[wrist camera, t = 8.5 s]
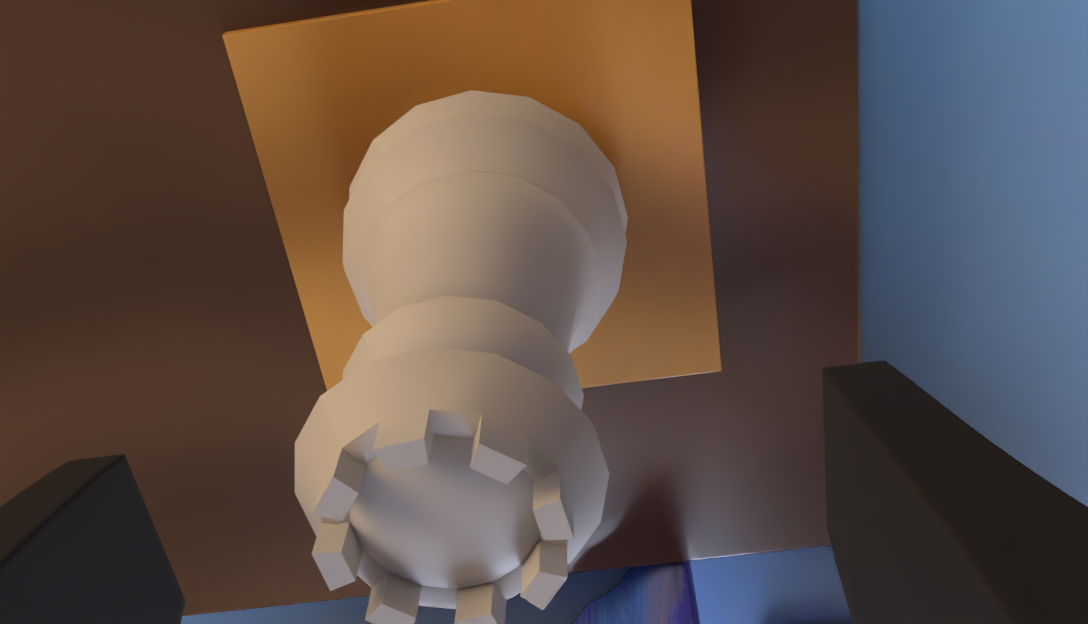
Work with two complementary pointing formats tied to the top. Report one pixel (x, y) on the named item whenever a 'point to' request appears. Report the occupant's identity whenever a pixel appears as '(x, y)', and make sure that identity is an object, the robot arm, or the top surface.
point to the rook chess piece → (466, 362)
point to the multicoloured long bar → (648, 598)
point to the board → (327, 297)
